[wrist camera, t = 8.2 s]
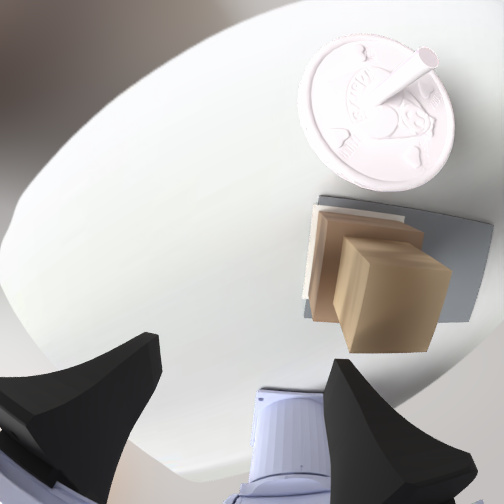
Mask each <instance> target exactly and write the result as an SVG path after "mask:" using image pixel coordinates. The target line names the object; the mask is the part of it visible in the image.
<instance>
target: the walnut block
mask: <svg viewBox="0 0 504 504" xmlns="http://www.w3.org/2000/svg"><path fill="white" fill-rule="evenodd" d="M343 236H353V237H363V238H372V239H381V240H391V241H399V242H408V243H410V244H411V245H413V246H415V247H416V248H418V249H419V250H421V249H422V244H423V238H424V232H422V231H420V230H418V229H415V228H413V227H411V226H409V225H407V224H405V223H402V222H400V221H395V220H388V219H381V218H373V217H365V216H357V215H349V214H341V213H332V212H323V211H319V212H318V221H317V230H316V239H315V247H314V255H313V263H312V270H311V277H310V284H309V291H308V297H309V302H310V308H311V313H312V319H313V321H317V322H333V323H340V322H339V319H338V316H337V313H336V310H335V308H334V305H333V300H334V295H335V289H336V283H337V277H338V271H339V265H340V258H341V251H342V244H343Z"/></svg>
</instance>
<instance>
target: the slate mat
mask: <svg viewBox="0 0 504 504" xmlns="http://www.w3.org/2000/svg"><path fill="white" fill-rule="evenodd" d="M319 211H323V212H332V213H341V214H349V215H357V216H365V217H373V218H381V219H388V220H395V221H400V222H402V223H405V224H407V225H409V226H411V227H413V228H415V229H418V230H420V231H422V232H424V238H423V244H422V249H421V251H423V252H424V253H426V254H427V255H429V256H430V257H432V258H434V259H435V260H437V261H438V262H440V263H441V264H443V265H444V266H446V267H447V268H449V269H450V270H452V275H451V279H450V283H449V286H448V290H447V294H446V297H445V300H444V304H443V307H442V310H441V313H440V316H439V319H438V322H437V323H448V322H469V319H470V316H471V313H472V310H473V307H474V304H475V301H476V298H477V295H478V292H479V288H480V285H481V281H482V278H483V274H484V270H485V266H486V262H487V257H488V253H489V248H490V243H491V238H492V232H493V227H494V225H491V224H486V223H482V222H478V221H473V220H469V219H464V218H459V217H454V216H449V215H444V214H439V213H434V212H428V211H423V210H417V209H411V208H405V207H399V206H393V205H386V204H380V203H373V202H366V201H359V200H351V199H343V198H335V197H326V196H319V202H318V205H315V204H313V211H312V220H311V230H310V239H309V247H308V256H307V264H306V271H305V279H304V286H303V293H302V299H306V305H305V311H304V318H312V313H311V308H310V302H309V297H308V291H309V284H310V277H311V270H312V263H313V255H314V247H315V239H316V230H317V221H318V212H319Z"/></svg>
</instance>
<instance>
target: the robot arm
mask: <svg viewBox="0 0 504 504" xmlns="http://www.w3.org/2000/svg"><path fill="white" fill-rule="evenodd" d="M161 374H162V364H161V355H160V346H159V335H157V334H153V333H148V332H144V333H142V334H140V335H138V336H136V337H135V338H133V339H131V340H129V341H127V342H126V343H124V344H122V345H120V346H118V347H116V348H114V349H113V350H111V351H109V352H107V353H105V354H103V355H100V356H98V357H96V358H94V359H92V360H90V361H87V362H85V363H82V364H80V365H77V366H74V367H71V368H68V369H64V370H60V371H56V372H52V373H48V374H43V375H36V376H28V377H0V428H1V429H2V431H0V503H1V504H106V503H107V499H108V495H109V491H110V487H111V484H112V480H113V477H114V474H115V471H116V467H117V464H118V462H119V459H120V457H121V453H122V451H123V449H124V446H125V444H126V441H127V439H128V437H129V434H130V432H131V430H132V428H133V427H134V425H135V423H136V421H137V420H138V418H139V416H140V415H141V413H142V411H143V410H144V408H145V406H146V405H147V403H148V401H149V399H150V398H151V396H152V394H153V393H154V391H155V389H156V386H157V384H158V382H159V379H160V376H161ZM250 445H251V446H252V447H254V448H253V455H252V461H251V468H250V475H249V481H248V483H243V484H241V487H240V493H239V494H232V495H230V496H229V497H228V498H227V499H226V500H225V501H224V502H223V503H222V504H455V500H454V497H455V496H456V495H458V494H459V493H460V492H461V491H462V490H463V489H465V488H466V487H467V486H468V485H469V484H470V483H471V482H472V481H473V480H474V479H475V477H476V475H477V473H478V470H477V468H476V465H475V463H474V461H473V459H472V456H471V455H470V453H467V452H464V451H462V450H459V449H456V448H454V447H451V446H449V445H447V444H445V443H443V442H440V441H438V440H437V439H434V438H433V437H431V436H429V435H428V434H426V433H425V432H423V431H421V430H420V429H418V428H417V427H415V426H414V425H413V424H411V423H410V422H408V421H407V420H406V419H405V418H403V417H402V416H401V415H400V414H399V413H397V412H396V411H395V410H394V409H393V408H392V407H391V406H390V405H389V404H388V403H387V402H386V401H385V400H384V399H383V398H382V397H381V396H380V395H379V394H378V393H377V392H376V391H375V390H374V389H373V387H372V386H371V385H370V384H369V383H368V382H367V380H366V379H365V378H364V377H363V376H362V374H361V373H360V372H359V371H358V370H357V368H356V367H355V366H354V365H353V363H352V362H351V361H350V360H349V359H334V363H333V366H332V369H331V372H330V375H329V378H328V381H327V385H326V388H325V390H324V393H300V392H284V391H272V390H258V391H257V393H256V401H255V409H254V418H253V427H252V435H251V443H250ZM473 504H484V502H483V500H479V501H477V502H475V503H473Z"/></svg>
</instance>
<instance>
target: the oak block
mask: <svg viewBox="0 0 504 504" xmlns="http://www.w3.org/2000/svg"><path fill="white" fill-rule="evenodd" d="M451 275H452V270H450V269H449V268H447V267H446V266H444V265H443V264H441V263H440V262H438V261H437V260H435V259H434V258H432V257H430V256H429V255H427V254H426V253H424V252H423V251H421V250H419V249H418V248H416V247H415V246H413V245H411V244H410V243H408V242H399V241H391V240H381V239H372V238H363V237H353V236H343V244H342V251H341V258H340V265H339V271H338V277H337V283H336V289H335V295H334V300H333V305H334V308H335V310H336V313H337V316H338V319H339V322H340V325H341V328H342V331H343V334H344V337H345V340H346V343H347V347H348V350H349V353H411V352H427V350H428V347H429V345H430V342H431V339H432V337H433V334H434V331H435V328H436V325H437V322H438V319H439V316H440V313H441V310H442V307H443V304H444V300H445V297H446V294H447V290H448V286H449V283H450V279H451Z"/></svg>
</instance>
